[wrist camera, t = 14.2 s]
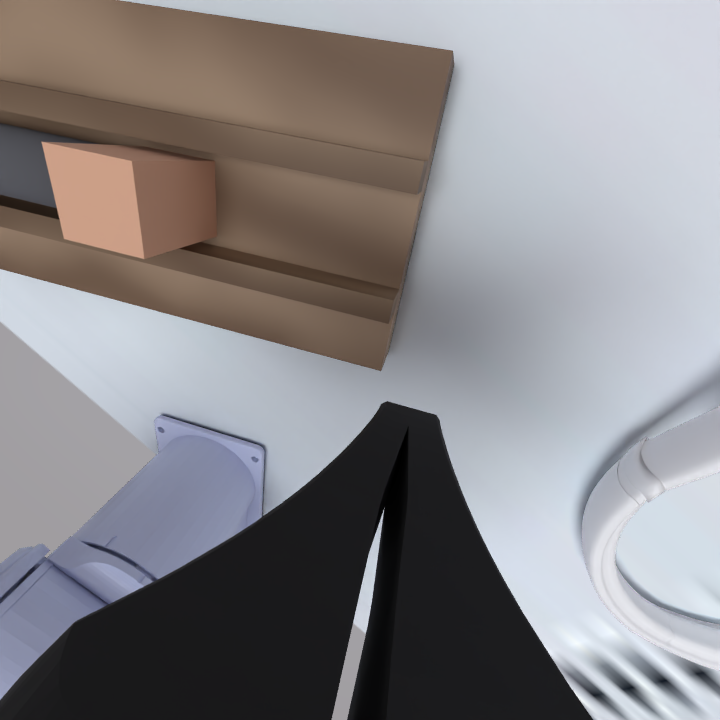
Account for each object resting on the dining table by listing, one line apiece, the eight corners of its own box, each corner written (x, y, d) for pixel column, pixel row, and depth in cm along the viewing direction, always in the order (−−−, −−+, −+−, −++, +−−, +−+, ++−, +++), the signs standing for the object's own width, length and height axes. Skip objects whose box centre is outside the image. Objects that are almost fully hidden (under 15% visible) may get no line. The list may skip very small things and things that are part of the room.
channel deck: (388, 352, 19) (374, 387, 16) (2, 251, 22) (-69, 265, 20) (454, 64, 13) (451, 37, 10) (-85, -19, 16) (-206, -59, 14)
